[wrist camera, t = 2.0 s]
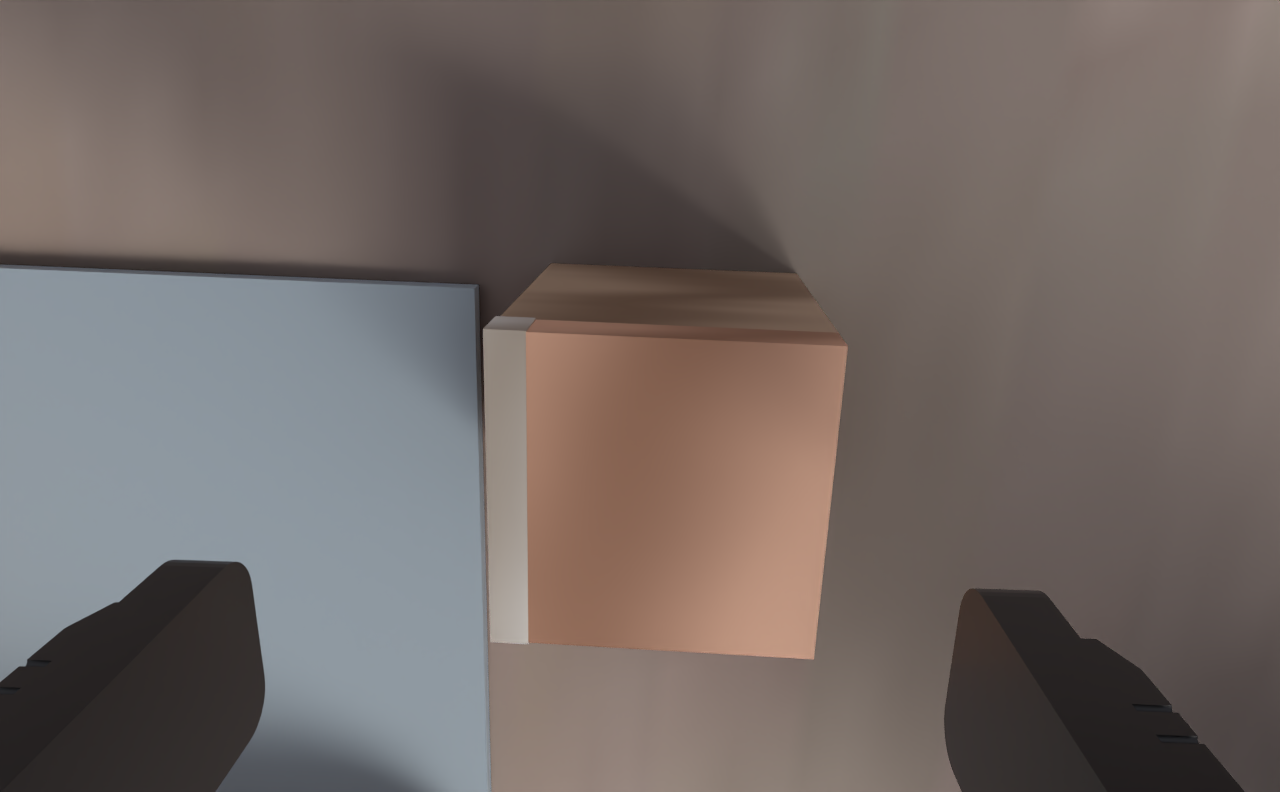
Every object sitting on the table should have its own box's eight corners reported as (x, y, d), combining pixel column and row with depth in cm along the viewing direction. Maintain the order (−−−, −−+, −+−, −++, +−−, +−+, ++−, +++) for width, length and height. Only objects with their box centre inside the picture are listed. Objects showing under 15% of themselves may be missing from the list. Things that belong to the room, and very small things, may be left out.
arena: (478, 284, 18) (394, 351, 13) (492, 857, 22) (434, 1075, 17) (-260, 253, 19) (-623, 304, 13) (-101, 815, 23) (-326, 1014, 18)
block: (796, 272, 18) (848, 345, 12) (776, 499, 19) (814, 661, 13) (548, 261, 18) (482, 329, 12) (549, 487, 19) (490, 641, 14)
